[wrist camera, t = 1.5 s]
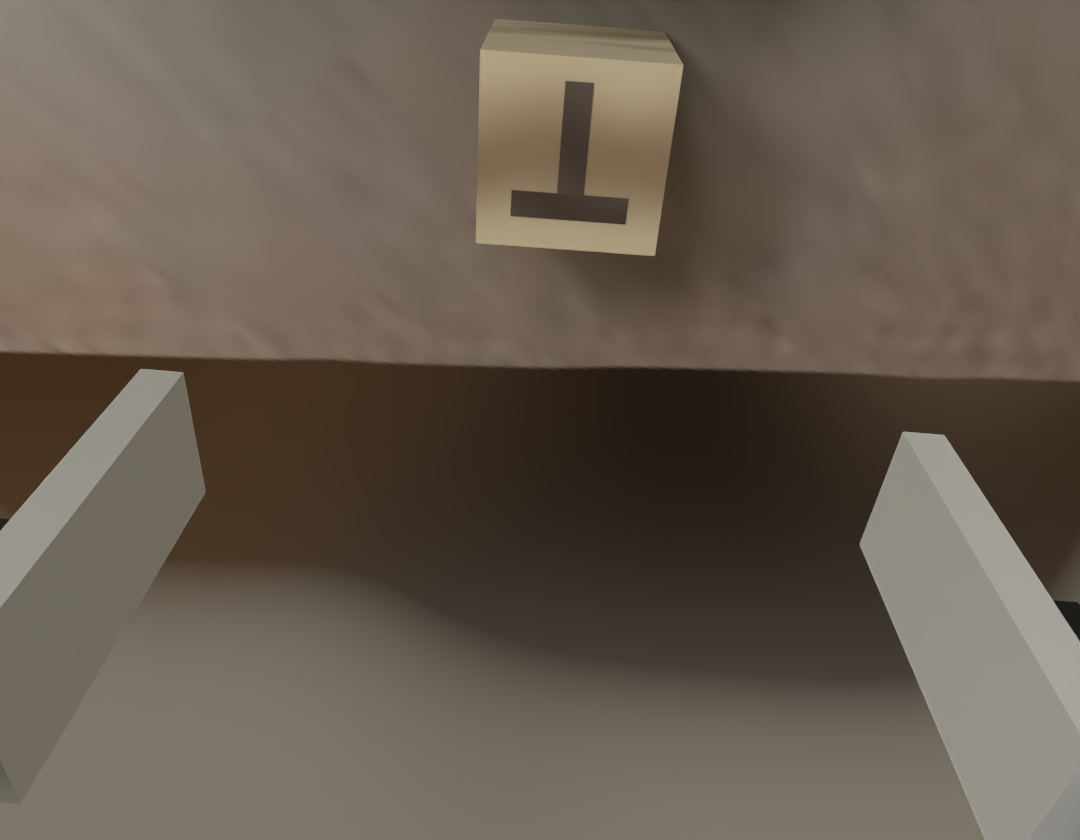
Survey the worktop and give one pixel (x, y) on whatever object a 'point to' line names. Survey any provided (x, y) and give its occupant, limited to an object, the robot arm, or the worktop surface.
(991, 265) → the worktop surface
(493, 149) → the letter cube
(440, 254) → the worktop surface
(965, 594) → the robot arm
